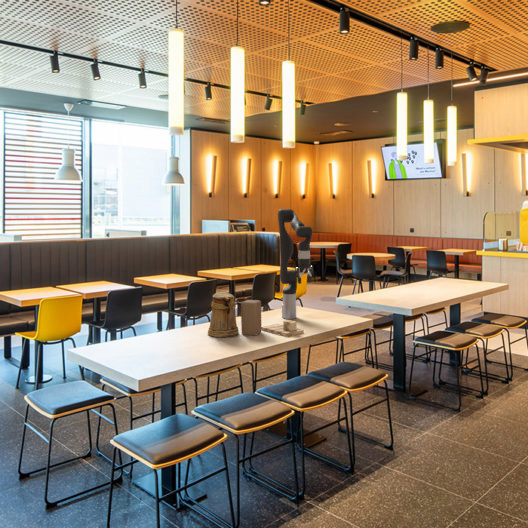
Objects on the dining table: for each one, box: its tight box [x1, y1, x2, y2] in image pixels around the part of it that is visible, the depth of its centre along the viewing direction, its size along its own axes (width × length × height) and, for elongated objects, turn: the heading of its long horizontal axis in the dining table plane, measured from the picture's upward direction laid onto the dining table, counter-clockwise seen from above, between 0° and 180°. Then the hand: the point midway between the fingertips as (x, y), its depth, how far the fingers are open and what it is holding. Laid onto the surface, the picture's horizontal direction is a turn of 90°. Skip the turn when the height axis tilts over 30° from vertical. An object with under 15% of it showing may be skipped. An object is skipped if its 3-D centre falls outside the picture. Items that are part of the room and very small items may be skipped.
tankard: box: [207, 292, 239, 338], centre depth 324 cm, size 18×24×25 cm
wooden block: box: [240, 299, 262, 336], centre depth 327 cm, size 10×10×20 cm
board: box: [261, 323, 305, 337], centre depth 332 cm, size 24×14×2 cm, turn 39°
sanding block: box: [282, 319, 298, 332], centre depth 326 cm, size 7×4×6 cm, turn 39°
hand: (304, 282), depth 344 cm, fingers open, 8 cm apart
